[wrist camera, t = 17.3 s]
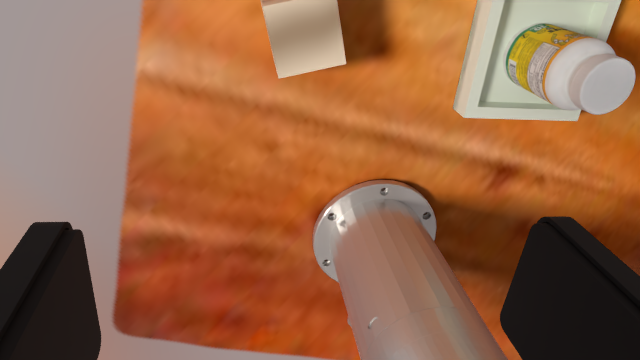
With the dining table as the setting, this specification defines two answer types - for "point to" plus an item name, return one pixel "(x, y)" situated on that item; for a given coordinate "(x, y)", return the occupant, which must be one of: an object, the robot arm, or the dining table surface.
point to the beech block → (304, 35)
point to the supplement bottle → (568, 69)
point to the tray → (490, 44)
